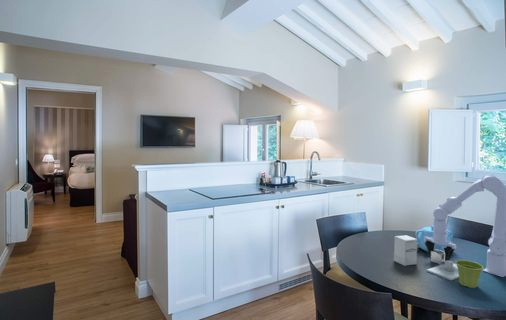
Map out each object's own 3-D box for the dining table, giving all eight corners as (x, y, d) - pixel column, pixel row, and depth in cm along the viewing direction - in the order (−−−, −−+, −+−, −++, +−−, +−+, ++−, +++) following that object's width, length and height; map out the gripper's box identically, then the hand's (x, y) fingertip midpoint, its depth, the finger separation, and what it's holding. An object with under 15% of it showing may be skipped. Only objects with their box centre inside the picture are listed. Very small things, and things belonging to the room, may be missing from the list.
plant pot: (471, 279, 133) (471, 259, 132) (488, 290, 123) (489, 268, 123) (449, 280, 132) (450, 260, 132) (465, 290, 123) (466, 269, 123)
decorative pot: (426, 243, 180) (427, 220, 179) (456, 251, 166) (457, 226, 165) (410, 249, 171) (411, 224, 170) (441, 257, 158) (441, 231, 157)
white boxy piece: (436, 259, 156) (437, 249, 156) (447, 262, 151) (448, 252, 151) (430, 261, 153) (430, 251, 153) (441, 264, 148) (441, 254, 148)
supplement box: (404, 266, 147) (405, 240, 147) (393, 260, 154) (394, 235, 154) (417, 264, 149) (417, 239, 149) (405, 259, 156) (406, 234, 156)
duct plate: (448, 263, 150) (449, 253, 150) (473, 271, 141) (474, 261, 140) (426, 271, 141) (427, 261, 141) (451, 280, 132) (452, 269, 131)
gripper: (420, 229, 156) (420, 255, 156) (450, 237, 143) (449, 265, 144) (429, 227, 159) (428, 253, 160) (459, 234, 146) (458, 262, 147)
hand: (439, 258), depth 152 cm, fingers open, 7 cm apart
